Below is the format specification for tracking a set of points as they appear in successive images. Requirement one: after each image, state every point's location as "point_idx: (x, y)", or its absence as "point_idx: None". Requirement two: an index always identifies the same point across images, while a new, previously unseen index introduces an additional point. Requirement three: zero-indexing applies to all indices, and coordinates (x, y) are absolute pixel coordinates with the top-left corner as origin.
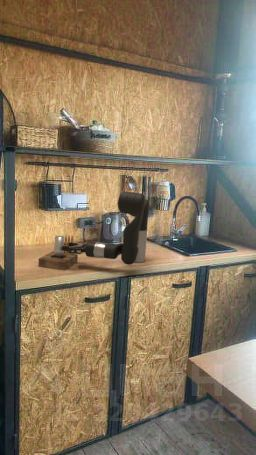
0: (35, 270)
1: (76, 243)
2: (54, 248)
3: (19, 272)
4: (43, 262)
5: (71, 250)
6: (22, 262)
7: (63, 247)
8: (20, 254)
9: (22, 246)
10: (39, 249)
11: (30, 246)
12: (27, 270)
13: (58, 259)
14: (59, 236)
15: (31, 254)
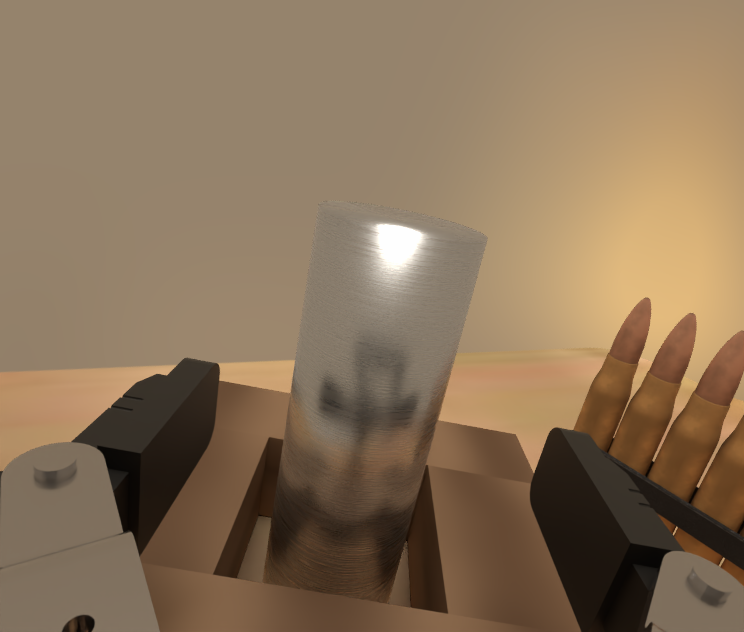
0: (45, 441)
1: (657, 568)
2: (574, 427)
3: (6, 372)
4: None
5: None
6: (291, 369)
7: (138, 383)
8: (457, 356)
9: (599, 354)
10: None
11: (637, 375)
12: (59, 401)
13: (158, 528)
14: (426, 222)
15: (497, 388)
